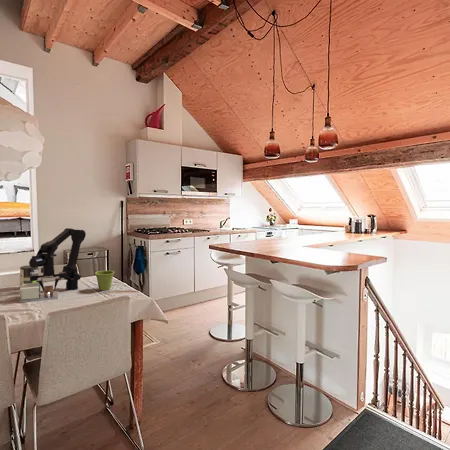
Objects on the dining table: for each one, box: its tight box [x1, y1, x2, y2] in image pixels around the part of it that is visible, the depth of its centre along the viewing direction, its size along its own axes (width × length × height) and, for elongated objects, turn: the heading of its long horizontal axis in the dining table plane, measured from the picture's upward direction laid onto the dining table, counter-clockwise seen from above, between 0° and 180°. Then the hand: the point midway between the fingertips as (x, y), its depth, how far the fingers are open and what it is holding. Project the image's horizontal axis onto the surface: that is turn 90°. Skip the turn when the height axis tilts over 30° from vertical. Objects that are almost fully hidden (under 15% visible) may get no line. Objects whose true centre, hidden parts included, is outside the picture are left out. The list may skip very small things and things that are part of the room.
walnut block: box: [43, 284, 54, 296], centre depth 183 cm, size 4×4×5 cm
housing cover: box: [19, 282, 41, 300], centre depth 178 cm, size 9×13×6 cm
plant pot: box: [95, 270, 115, 291], centre depth 200 cm, size 12×12×11 cm
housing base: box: [18, 290, 59, 304], centre depth 181 cm, size 19×13×4 cm
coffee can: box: [19, 264, 40, 287], centre depth 201 cm, size 10×10×14 cm
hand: (49, 290), depth 183 cm, fingers open, 5 cm apart
